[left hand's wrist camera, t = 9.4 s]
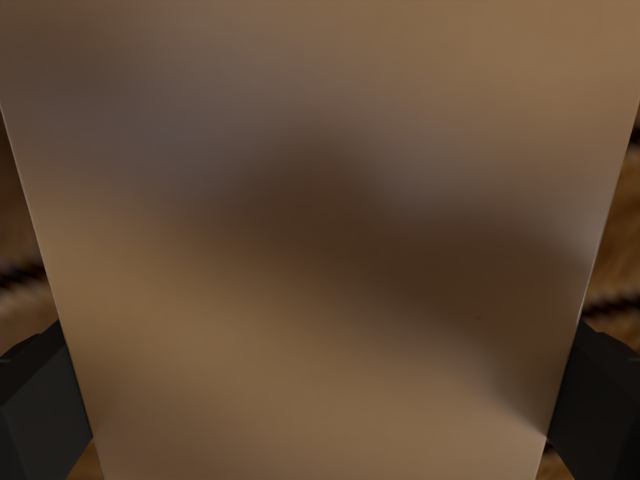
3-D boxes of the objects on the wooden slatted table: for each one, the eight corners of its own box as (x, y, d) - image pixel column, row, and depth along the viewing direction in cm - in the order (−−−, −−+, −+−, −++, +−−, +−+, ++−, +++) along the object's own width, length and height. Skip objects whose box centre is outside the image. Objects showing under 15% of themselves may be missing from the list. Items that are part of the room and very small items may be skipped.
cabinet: (160, -145, 13) (-246, -744, 4) (477, -145, 13) (878, -742, 4) (212, 303, 20) (110, 506, 10) (427, 303, 20) (529, 505, 10)
